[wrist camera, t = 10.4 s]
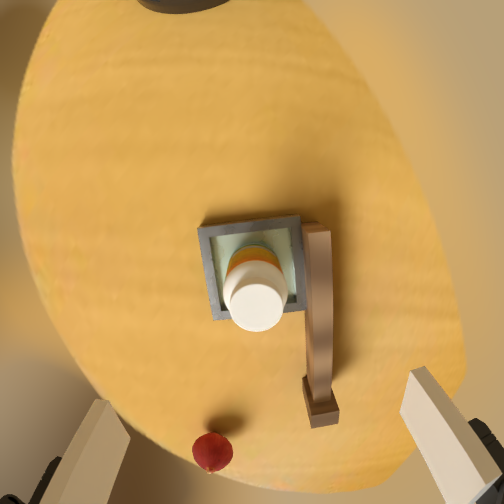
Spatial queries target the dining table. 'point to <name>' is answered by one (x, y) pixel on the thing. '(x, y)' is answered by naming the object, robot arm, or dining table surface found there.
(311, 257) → the door edge rail
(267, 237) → the socket
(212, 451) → the onion
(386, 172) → the dining table surface
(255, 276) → the supplement bottle
